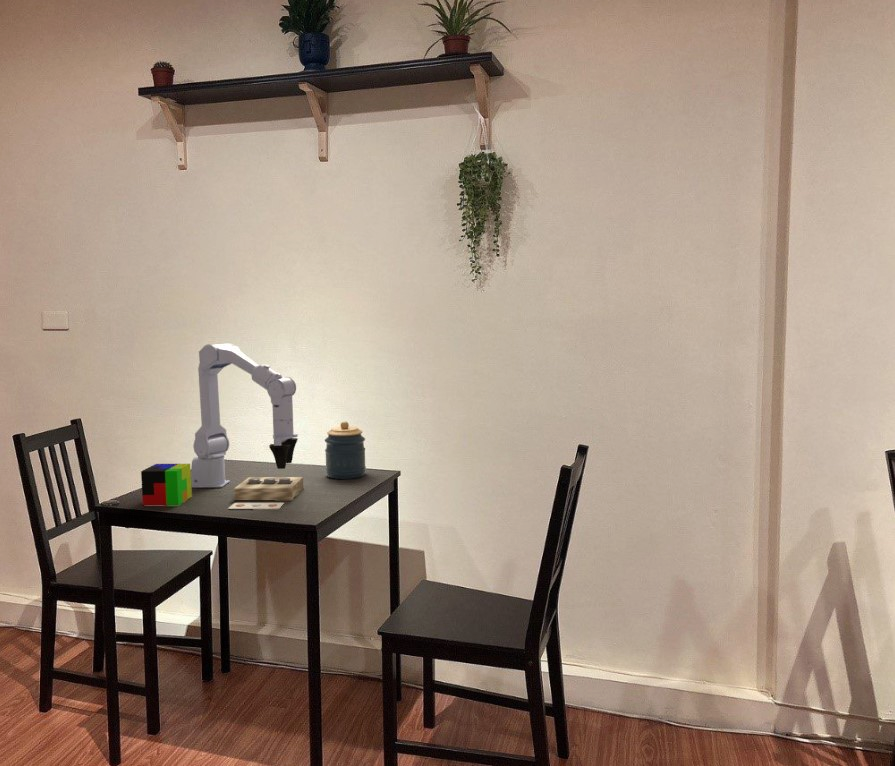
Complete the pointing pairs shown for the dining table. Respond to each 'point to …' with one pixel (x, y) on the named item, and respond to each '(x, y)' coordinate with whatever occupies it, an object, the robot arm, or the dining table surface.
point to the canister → (345, 452)
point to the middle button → (269, 481)
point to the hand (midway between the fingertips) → (284, 465)
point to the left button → (254, 481)
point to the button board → (268, 489)
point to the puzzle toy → (166, 484)
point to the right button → (284, 481)
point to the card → (256, 506)
